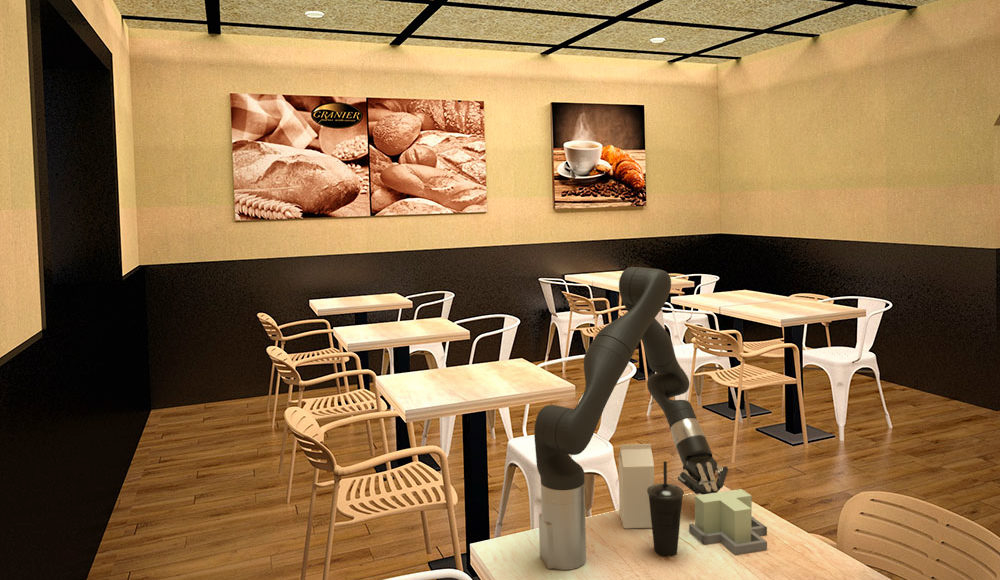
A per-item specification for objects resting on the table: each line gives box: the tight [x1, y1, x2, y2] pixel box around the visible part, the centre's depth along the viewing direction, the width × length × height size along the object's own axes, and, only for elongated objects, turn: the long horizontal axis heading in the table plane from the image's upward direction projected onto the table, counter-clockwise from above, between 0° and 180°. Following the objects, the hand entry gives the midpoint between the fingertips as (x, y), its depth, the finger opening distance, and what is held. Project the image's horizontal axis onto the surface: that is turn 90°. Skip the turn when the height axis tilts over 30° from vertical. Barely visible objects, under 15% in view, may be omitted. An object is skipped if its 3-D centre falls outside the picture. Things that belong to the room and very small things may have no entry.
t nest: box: [688, 515, 768, 556], centre depth 158 cm, size 16×13×2 cm
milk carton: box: [618, 443, 655, 529], centre depth 167 cm, size 7×7×19 cm
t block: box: [694, 488, 753, 544], centre depth 160 cm, size 12×10×8 cm
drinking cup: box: [647, 461, 684, 558], centre depth 153 cm, size 8×8×20 cm
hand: (716, 508), depth 165 cm, fingers closed
